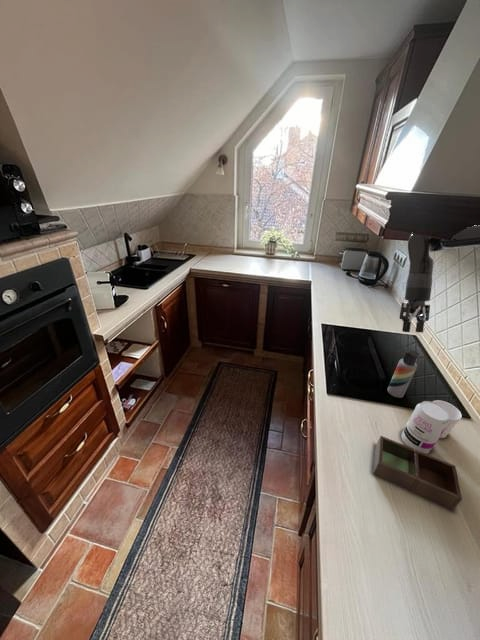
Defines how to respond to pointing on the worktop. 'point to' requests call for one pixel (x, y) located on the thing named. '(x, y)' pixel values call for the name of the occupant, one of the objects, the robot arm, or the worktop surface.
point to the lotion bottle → (403, 374)
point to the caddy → (417, 472)
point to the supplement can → (425, 426)
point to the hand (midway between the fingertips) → (412, 332)
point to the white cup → (453, 416)
